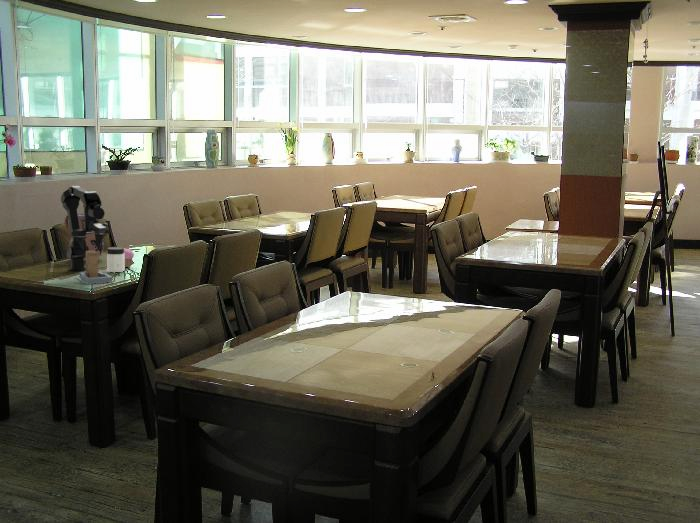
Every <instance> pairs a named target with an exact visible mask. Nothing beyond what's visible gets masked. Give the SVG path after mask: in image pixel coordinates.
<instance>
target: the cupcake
mask: <svg viewBox="0 0 700 523" xmlns="http://www.w3.org/2000/svg"><path fill="white" fill-rule="evenodd" d="M124 253H125V267H129V268H130V267H131V266H132V259H133V258H134V257H135V254H134V252H133V251H132V250H131V249H129V248H128V249H127V248H124Z"/></svg>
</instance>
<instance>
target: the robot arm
mask: <svg viewBox="0 0 700 523" xmlns="http://www.w3.org/2000/svg"><path fill="white" fill-rule="evenodd" d="M60 202H61V203H62V204H61V205H62V208H63V209H64V210H65V211H66V212H67V215H68V223H69V227H70V233H71V239H70V240H71V242H70V241H69V243H68V247H69V248H68V249H67V252H66V258H67V259H69V260H70V265H69V266H70V268H68V269H67V270H69V271H72V272H78V271H79V272H80V271H86V267H85V261H84V258H86V251H88V248H87V246H86V241H85V239H86V237H85V235H86V234H91V233H96V234H95V239H96V245H97V248H100V245H101V242H102V239H103V240H104V237H106V236H108V234H110V229H109V224H108V223H107V222H103V223H100V220H102V219H103V218H104V217H105V210H104V209H103V208H102V207H101V206H102V202H103V201H102V200H101V197H100V195H99V194H98V192H97V191H93V190H91V191H89V190H86V189H85V188H83V187H81V186H80V185H71V186H68V188H67V189H66V190H65V191H63V192H62V194H61V196H60ZM80 202H81V203H82V208H83V214H84V219H82V221H83V222H84V228H83V230H80V226H79V220H78V214H79V213H78V209H79V205H80ZM78 255H80V256H78Z"/></svg>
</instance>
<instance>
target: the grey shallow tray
mask: <svg viewBox="0 0 700 523" xmlns="http://www.w3.org/2000/svg"><path fill="white" fill-rule="evenodd" d="M75 279H77V280H78V281H80V282H81V283H84V284H85V285H94V283H96V284H106V282H109V283H115V281H114V280H113V276H112V275H110V274H108V273H107V272H105V273H103V272H102V271H99V270H98V277H97V278H88V277H87V275H86V271H82V272H80V271H79V276H75Z"/></svg>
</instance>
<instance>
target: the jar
mask: <svg viewBox="0 0 700 523" xmlns="http://www.w3.org/2000/svg"><path fill="white" fill-rule="evenodd" d="M124 249H125V248H124V247H121V246H110V247H107V252H106V270H107V272H106V273H110V272H114V273H113V274H116V273H115V272H122V273H124V272H125V271H126V268H125V253H124ZM124 270H125V271H124ZM123 271H124V272H123Z"/></svg>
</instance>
